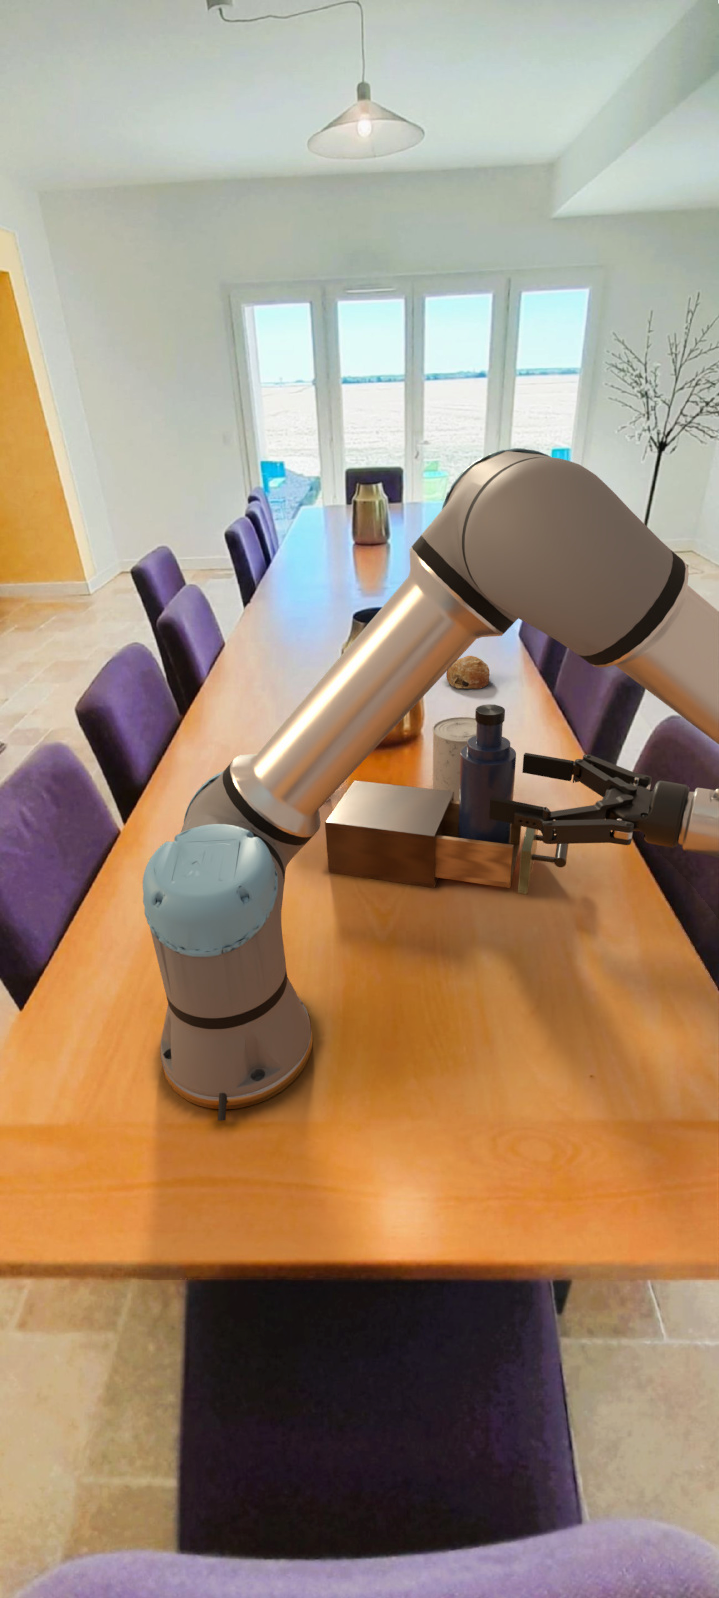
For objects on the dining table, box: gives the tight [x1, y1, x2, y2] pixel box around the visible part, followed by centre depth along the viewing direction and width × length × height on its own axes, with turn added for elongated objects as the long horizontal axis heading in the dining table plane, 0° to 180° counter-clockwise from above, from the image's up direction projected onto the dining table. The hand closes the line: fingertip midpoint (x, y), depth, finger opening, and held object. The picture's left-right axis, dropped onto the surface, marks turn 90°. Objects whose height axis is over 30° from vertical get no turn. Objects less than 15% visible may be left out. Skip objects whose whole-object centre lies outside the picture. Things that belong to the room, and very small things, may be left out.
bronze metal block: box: [324, 780, 454, 889], centre depth 102 cm, size 15×13×8 cm
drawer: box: [435, 801, 569, 895], centre depth 98 cm, size 19×12×7 cm, turn 72°
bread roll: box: [445, 655, 490, 690], centre depth 165 cm, size 10×10×8 cm
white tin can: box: [432, 716, 477, 801], centre depth 116 cm, size 10×10×12 cm
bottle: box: [458, 703, 517, 844], centre depth 94 cm, size 7×7×22 cm
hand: (507, 783), depth 93 cm, fingers open, 13 cm apart
